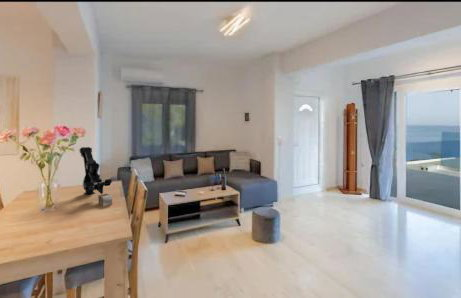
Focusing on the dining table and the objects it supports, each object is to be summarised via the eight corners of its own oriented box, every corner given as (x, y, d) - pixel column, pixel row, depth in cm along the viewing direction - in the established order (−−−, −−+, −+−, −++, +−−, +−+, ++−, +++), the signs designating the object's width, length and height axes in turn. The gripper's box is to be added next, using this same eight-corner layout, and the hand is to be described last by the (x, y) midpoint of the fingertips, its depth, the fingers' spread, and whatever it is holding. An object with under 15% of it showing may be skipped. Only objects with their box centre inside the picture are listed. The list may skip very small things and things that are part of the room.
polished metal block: (98, 195, 188) (103, 197, 183) (106, 193, 192) (112, 195, 187) (98, 203, 188) (103, 206, 183) (106, 201, 193) (112, 203, 188)
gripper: (103, 180, 207) (111, 196, 202) (78, 184, 193) (85, 202, 187) (108, 172, 202) (115, 188, 196) (82, 176, 187) (89, 193, 181)
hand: (102, 193), depth 190 cm, fingers closed
